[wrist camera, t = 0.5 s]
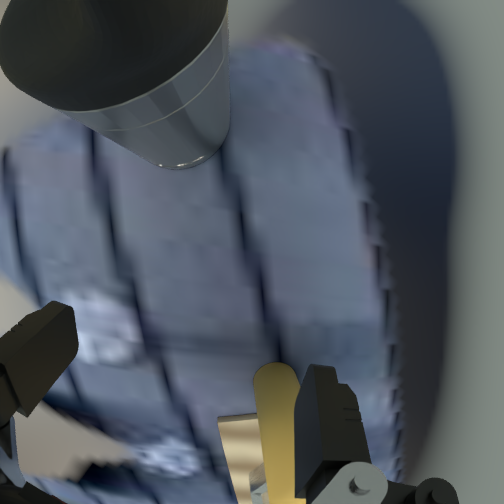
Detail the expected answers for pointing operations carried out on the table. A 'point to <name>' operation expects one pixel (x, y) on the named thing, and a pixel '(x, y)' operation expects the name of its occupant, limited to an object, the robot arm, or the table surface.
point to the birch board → (241, 450)
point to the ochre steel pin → (277, 429)
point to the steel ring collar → (258, 485)
